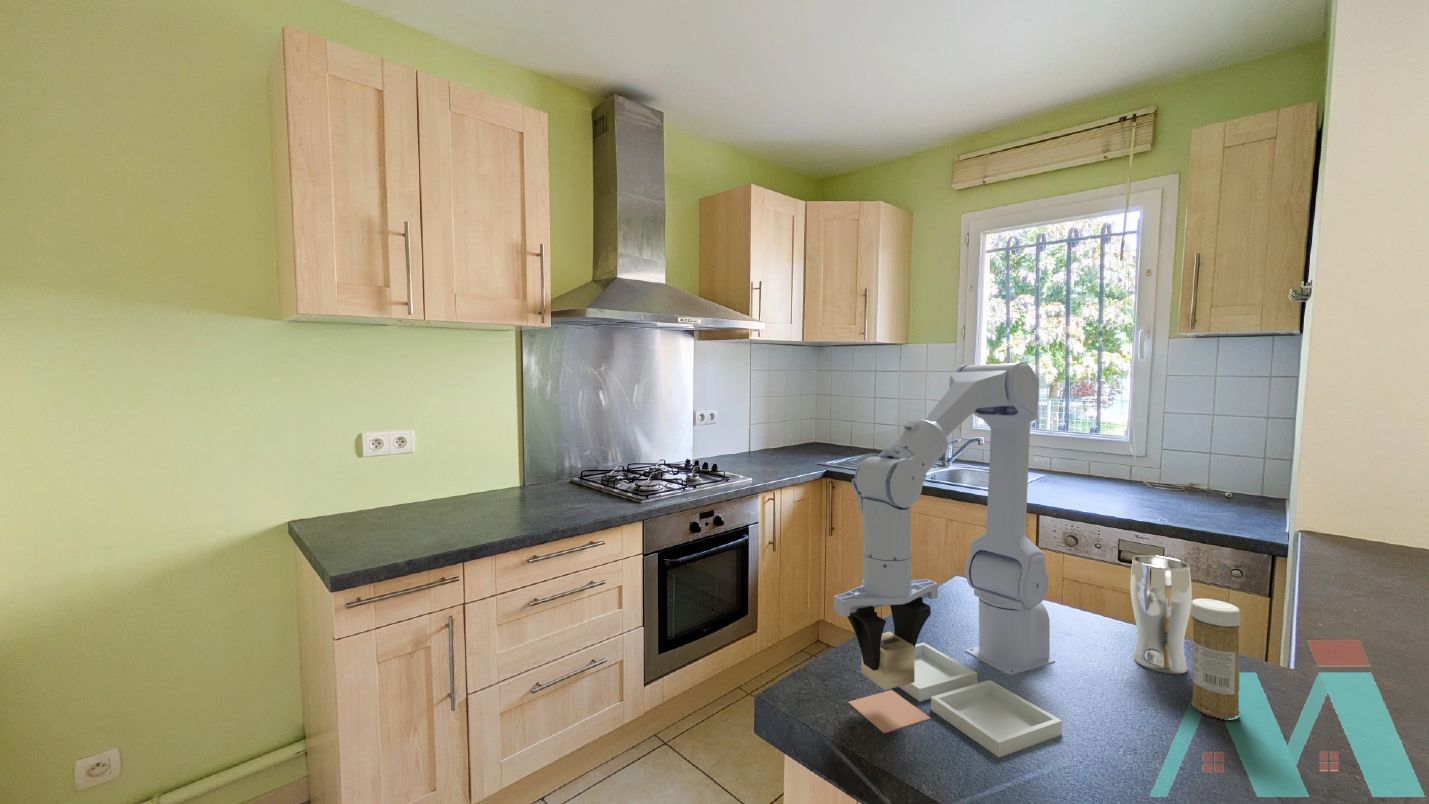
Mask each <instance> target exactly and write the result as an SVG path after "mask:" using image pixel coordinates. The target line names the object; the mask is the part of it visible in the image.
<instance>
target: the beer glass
mask: <svg viewBox="0 0 1429 804" xmlns="http://www.w3.org/2000/svg"><path fill="white" fill-rule="evenodd" d="M1131 559H1132V561H1131V562H1132V563H1131V568H1130V569H1131V571H1130V583H1129V585H1130V599H1131V605H1132V606H1131V607H1132V610H1133V616H1134V620H1135V625H1136V631H1137V635H1136V636H1137V640H1136V648H1135V649H1134V653H1133V659H1134V661H1135V662H1136V663H1137V664H1138V665H1140V666H1142V667H1144V668H1146V669H1148V670H1151V671H1154V672H1156V673H1157V672H1158V673H1162V674H1167V675H1168V674H1169V675H1181V674H1185V673H1187V672H1188V665H1187V661H1186V656H1185V650H1184V649H1185V648H1184V643H1185V636H1186V631H1187V627H1188V624H1189V619H1190V616H1191V602H1192V601H1193V597H1192V596H1193V593H1192V579H1191V569H1190V567H1191V565H1190V564H1189V563H1188V562H1185V561H1182V560H1181V559H1176V558H1173V557H1167V556H1161V555H1152V554H1140V555H1134V556H1132V558H1131Z"/></svg>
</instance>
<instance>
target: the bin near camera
mask: <svg viewBox="0 0 1429 804" xmlns="http://www.w3.org/2000/svg"><path fill="white" fill-rule="evenodd" d="M930 710H931V712H933V713H935V714H936V715H938V717H941V719H943V720H945V721H946V722H948V723H949V724H951V725H952V726H953V727H955V728H956V729H957V730H959V731H960V732H962V733H963V734H964V735H966V736H968V737H969V738H970V739H971V740H973V741H974V742H976V743H978V745H981V746H982V747H983V748H985V749H986V750H987V751H989V752H990V753H992V754H993V755H994V756H996V757H998V758H1002V757H1005V756H1008V755H1010V754H1013V753H1016V752H1019V751H1021V750H1024V749H1026V748H1030V747H1031V746H1032V747H1033V746H1035V745H1038V744H1041V743H1043V742H1046V741H1049V740H1052V739H1054V738H1057V737H1060V736H1062V735H1063V720H1061V719H1060V718H1059V717H1056V716H1055V715H1053V714H1051V713H1049V712H1047V711H1046V710H1044V709H1042V708H1040V707H1039V706H1037V705H1035V704H1033V703H1032V702H1030V701H1028V700H1026V699H1024V698H1022V697H1021V696H1019V695H1018V694H1016V693H1013V692H1012V691H1011V690H1009V689H1007V688H1005V687H1003V686H1001V685H1000V684H998V683H996V682H995V681H992V680H991V679H989V680H985V681H981V682H978V683H977V684H974V685H970V686H967V687H963V688H960V689H956V690H953V691H949V692H946V693H943V694H939V695H936V696H932V697H931V699H930Z"/></svg>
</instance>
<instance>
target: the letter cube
mask: <svg viewBox="0 0 1429 804" xmlns="http://www.w3.org/2000/svg"><path fill="white" fill-rule="evenodd" d="M860 654H861V655H860V656H861V657H860V659H861V660H860V661H861V663H860V664H861V674H862V675H863V676H865V677H866V678H868V679H869V680H871V681H872V682H873V683H875V685H877V686H878V687H880V688H881V689H882V690H884V691H889V690H892V689H895V688H899V686H902V685H906V684H910V683H914V682H915V676H914V645H912V644H910V643H908V642H907V641H905V640H903V639H902V638H900V637H898V636H896V635H895V634H894V632H891V631H887V632H883V633H882V637H881V643H880V663H879V668H878V670H875V671H873V670H872V669H870V668H869V667H868V666H866V665H865V664H864V662H863V657H862V653H861V652H860Z"/></svg>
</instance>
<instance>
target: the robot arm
mask: <svg viewBox="0 0 1429 804" xmlns="http://www.w3.org/2000/svg"><path fill="white" fill-rule="evenodd" d="M1039 384H1040V382H1039V378H1038V376H1037V375H1036V373H1035V372H1034V370H1033V368H1032V367H1031V366H1030V364H1028V363H1027V362H1025V361H1016V362H1010V363H1009V362H1008V363H987V364H969V363H968V364H962V365H959V367H958V368H957V369H956V370H955V372H954V373H952V374H951V375H950V376H949V386H948V387H949V389H948V390H947V391H946V393H944V395H943V396H942V397H941V398H940V400H939V401H938V402H937V404H936V405H935V406H934V407H933V409H932V410H931V411H930V413H929V414H928V415H927V416H926V417H925V419H921V418H920V419H918V418H917V419H914V420H908V421H907V422H906V423H904V425H903V429H902V430H901V432H899V433H898V434H897V436H895V437H894V439H893V440H891V442H890V443H889V444H886V446H885V447H884V448H883V449H882V451H880V453H879V454H878V455H877V456H868V457H866V458H864V459H863V461H862V462H860V463H859V464H858V466H857V467H856V470H855V473H854V478H852V479H851V485H852V490H853V492H854V495H855V496H856V498H857V499H858V510H859V511H860V514H862V539H863V540H862V542H863V543H862V548H863V549H862V550H863V552H862V553H863V554H862V556H863V557H862V560H863V563H862V564H863V569H862V570H863V571H862V573H863V580H861V585H860V586H858V587H854V588H853V589H850V590H848V591H845V592H843V593H839V594H836V595H833V612H835V613H836V614H837V615H839V616H841V617H843V618H846V617H847V619H848V621H849V623H850V624H851V626H852V629H853V631H854V633H855V636H856V639H857V641H858V647H859V649H860V654H861V653H862V657H863V662H864V664H865V665H866V666H868V667H869V668H870V669H872V670H873V671H875V670H878V668H879V663H880V643H881V637H882V633H884V632H883V631H884V630H885V629H884V628H885V626H886V623H887V620H885V619H883V618H882V617H880V616H878V612H877V611H875V609H877V608H882V607H887V606H889V607H890V611H891V616H892V621H893V629H894V630H893V634H895V635H896V636H898V637H900V638H902V639H903V640H905V641H907V642H908V643H910V644H912V645H914V649H915V645H916V644H917V642H918V639H919V636H920V633H921V631H922V630H923V627H924V625H925V623H926V621H927V620H928V618H929V617H930V616H931V615H932V613H931V611H932V609H931V608H932V607H931V606H930V605H929V604H927V603H925V602H923V601H924V599H927V598H928V599H930V600H936V599H938V598H939V587H938V586H939V583H938V582H935V581H933V580H930V579H928V578H923V579H912V506H913V505H914V504H915V503H917V502H918V501H919V499H920V497H921V495H922V494H921V493H922V490H923V485H924V482H925V481H926V480H927V479H926V477H927V473H928V472H929V471H931V469H932V468H933V466H934V465H935V464H936V463H937V462H938V461H939V460H940V458H942V456H943V455H945V453H946V452H947V450H948V448H949V447H948V446H949V443H948V438H947V437H948V436H949V435H950V434H952V432H953V431H955V429H957V428H958V427H959V426H960V425H961V424H963V422H965V420H967V419H968V418H969V417H970V416H971V415H974V416H975V417H977V418H979V419H982V420H983V421H984V422H985V423H986V425H987V426H988V427H989V428H990V445H989V460H988V461H989V464H988V465H989V468H988V481H987V485H988V487H987V508H986V509H987V510H986V527H985V528H986V530H985V533H983V534H982V535H980V536H978V537H977V538H975V539H973V540H972V541H971V543H970V550H969V555H968V558H967V560H966V561H965V562H966V563H965V571H964V573H965V578H966V582H967V584H968V586H969V587H971V589H973V595H974V597H978V646H974V647H969V648H966V649H965V653H966V654H968V655H970V656H972V657H974V658H976V659H977V660H980V661H982V662H983V663H986V664H987V665H988V666H991V667H993V668H994V669H997V670H999V671H1000V672H1002V673H1004V674H1005V675H1008V676H1013V675H1016V674H1021V673H1023V672H1027V671H1030V670H1034V669H1037V668H1041V667H1043V666H1044V667H1045V666H1048V665H1052V664H1054V663H1056V659H1054V658H1052V657H1050V655H1051V654H1050V653H1051V651H1050V648H1051V647H1050V644H1051V642H1050V637H1051V635H1050V632H1051V631H1050V615H1049V612H1048V609H1046V608H1047V607H1045V605H1044V604H1043V603H1042V602H1043V601H1044V599H1045V598H1046V596H1047V593H1048V589H1049V576H1048V573H1047V568H1046V558H1045V557H1046V554H1045V553H1044V552H1043V551H1042V550H1041V549H1040V548H1039V547H1038V546H1037V545H1036V544H1035V543H1034V542H1033V541H1031V540H1030V539H1029V538H1028V537H1027V536H1026V529H1027V526H1026V525H1027V511H1028V509H1027V506H1028V487H1029V486H1028V483H1029V465H1030V464H1029V463H1030V462H1029V461H1030V459H1029V458H1030V440H1031V439H1030V437H1031V435H1030V434H1031V423H1032V422H1034V421H1035V420H1037V418H1038V410H1039V387H1040V385H1039Z"/></svg>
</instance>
